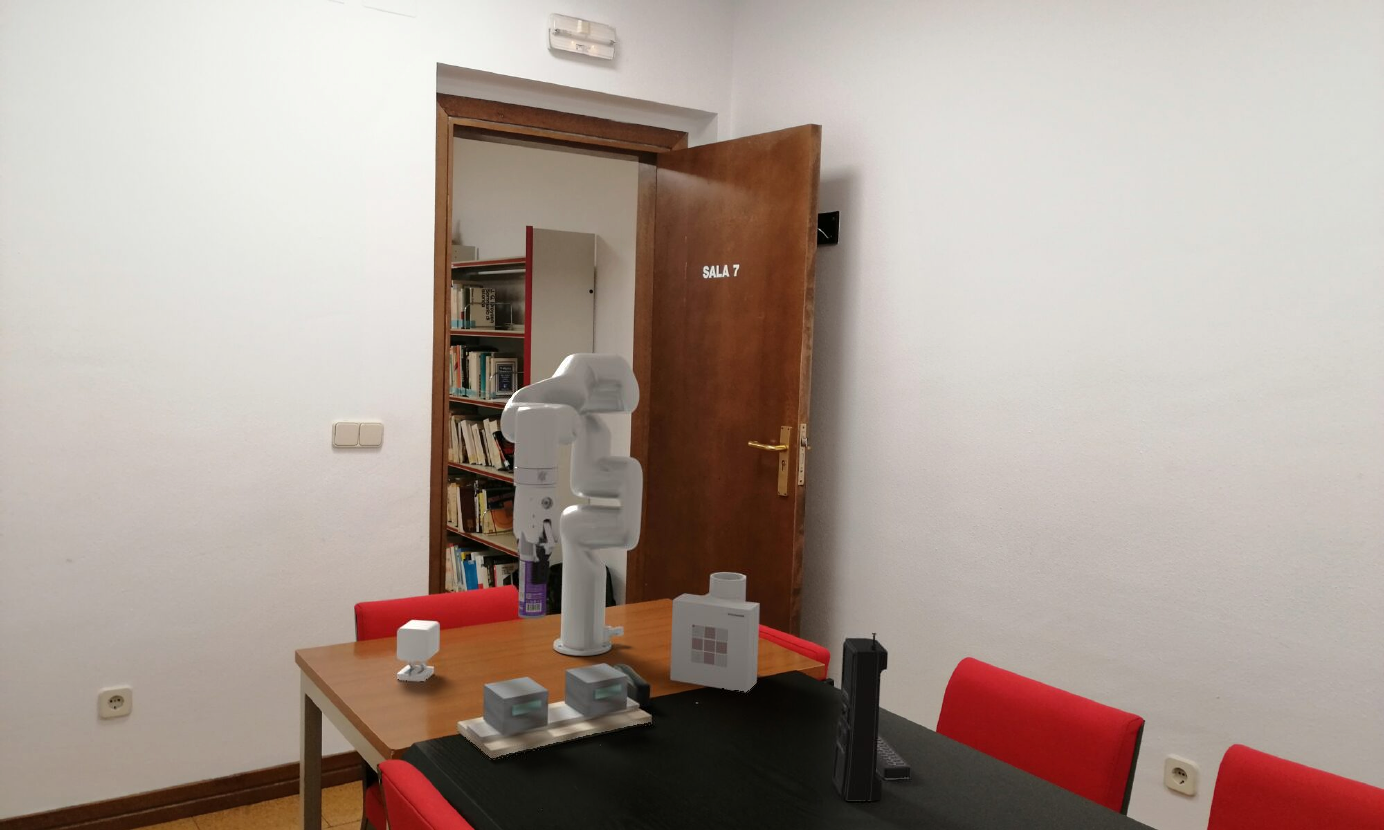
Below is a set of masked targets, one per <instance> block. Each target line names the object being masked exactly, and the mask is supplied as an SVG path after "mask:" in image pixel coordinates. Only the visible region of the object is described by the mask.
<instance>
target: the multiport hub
mask: <svg viewBox="0 0 1384 830" xmlns="http://www.w3.org/2000/svg"><path fill="white" fill-rule="evenodd" d="M876 769H877V771H878V772H879V773H880V774H881V775H882V776H883V777H884V778H901V777H902V778H904V777H906V778H907V777H909V778H910V779H911V775H912V772H911V771H912V766H910V765H909V763H908V762H907V761H906V760H905V759H904V758H903V757H902V756H901V755H900V754H899V753H898V752H897V751H896V750H895V749H894V748H893V746H892V745H890V743H888V741H887V740H885V738H884V737H883V736H882V735H881V734H880V733H879V732H878V743H877V767H876Z"/></svg>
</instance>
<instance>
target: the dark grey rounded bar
mask: <svg viewBox="0 0 1384 830" xmlns="http://www.w3.org/2000/svg"><path fill="white" fill-rule="evenodd" d="M613 668H614V669H616V670H618V671H620V672H622V673H624V674H626V675H627V676H628V682H627V697H628V698H630V699H632V700H633V701H635V702H637V703H638V704H640V707H646V706H649V707H650V705H651V684H650V683H649V682H647V681H646V680H645V679H643V678H642V677H641V676H640V675H639V674H638V673H637V672H635V670H634V669H633V668H632V667H631V666H630V665H628V664H624V663H616V664H614V665H613ZM646 708H647V707H646Z"/></svg>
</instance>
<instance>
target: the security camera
mask: <svg viewBox="0 0 1384 830" xmlns="http://www.w3.org/2000/svg"><path fill="white" fill-rule="evenodd" d="M440 626H441V625H440V623H439V622H438V621H436V620H435V621H434V620H421V619H420V620H419V619H418V620H417V619H411V620H410V621H408V622H407V623H406V624H404V625H402V626H400V627H398V629H397V631H396V658H397V660H399V661H406V662H407V665H406V666H405V667H403V668H402V669H401V670H400V671H398V672H397V673H396V675H397V676H396V677H397V679H399V680H398V681H406V680H407V682H408V681H409V682H420V681H424V682H426V681H427V680H428V679H429V678H430V677H431V676H432V675H434V673H435V667H434V666H430V665H429V666H428V665H426V662H428V661H429V659H431V658H432V657H433V656H434V655H435V654H437V653H438V652H439V651H440V635H441V633H440V630H441V627H440ZM415 663H418V664H419V665H415ZM397 679H396V680H397ZM426 679H427V680H426Z"/></svg>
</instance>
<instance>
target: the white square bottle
mask: <svg viewBox="0 0 1384 830" xmlns="http://www.w3.org/2000/svg"><path fill="white" fill-rule="evenodd" d="M746 589H747V575H745V574H742V573H739V572H738V573H737V572H725V571H722V572H714V573H711V574H710V575H709V592H708V593H706V594H705V595H702V594H701V595H699V594H691V593H683V594H681V595H679V596H677V597H675V598H674V599H673V600H672V613H671V614H672V615H671V618H672V619H671V646H670V647H671V648H670V673H669V674H670V681H674V682H680V683H686V684H693V685H699V686H706V687H710V688H716V689H722V688H724V690H728V691H734V690H739V691H738V692H740V691H744V692H743V693H746V692H747V691H748V690H749V691H751V690H752V689H753V688H754V687H755V686H756V685H757V684H756V683H757V680H758V656H759V655H758V654H759V633H760V632H759V631H760V627H759V626H760V602H752V601H746V599H747V596H746V595H747V593H746V592H747V590H746ZM755 684H756V685H755ZM754 685H755V686H754ZM753 686H754V687H753ZM752 687H753V688H752ZM751 688H752V689H751ZM750 689H751V690H750ZM749 691H748V692H749ZM748 692H747V693H748Z"/></svg>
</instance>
